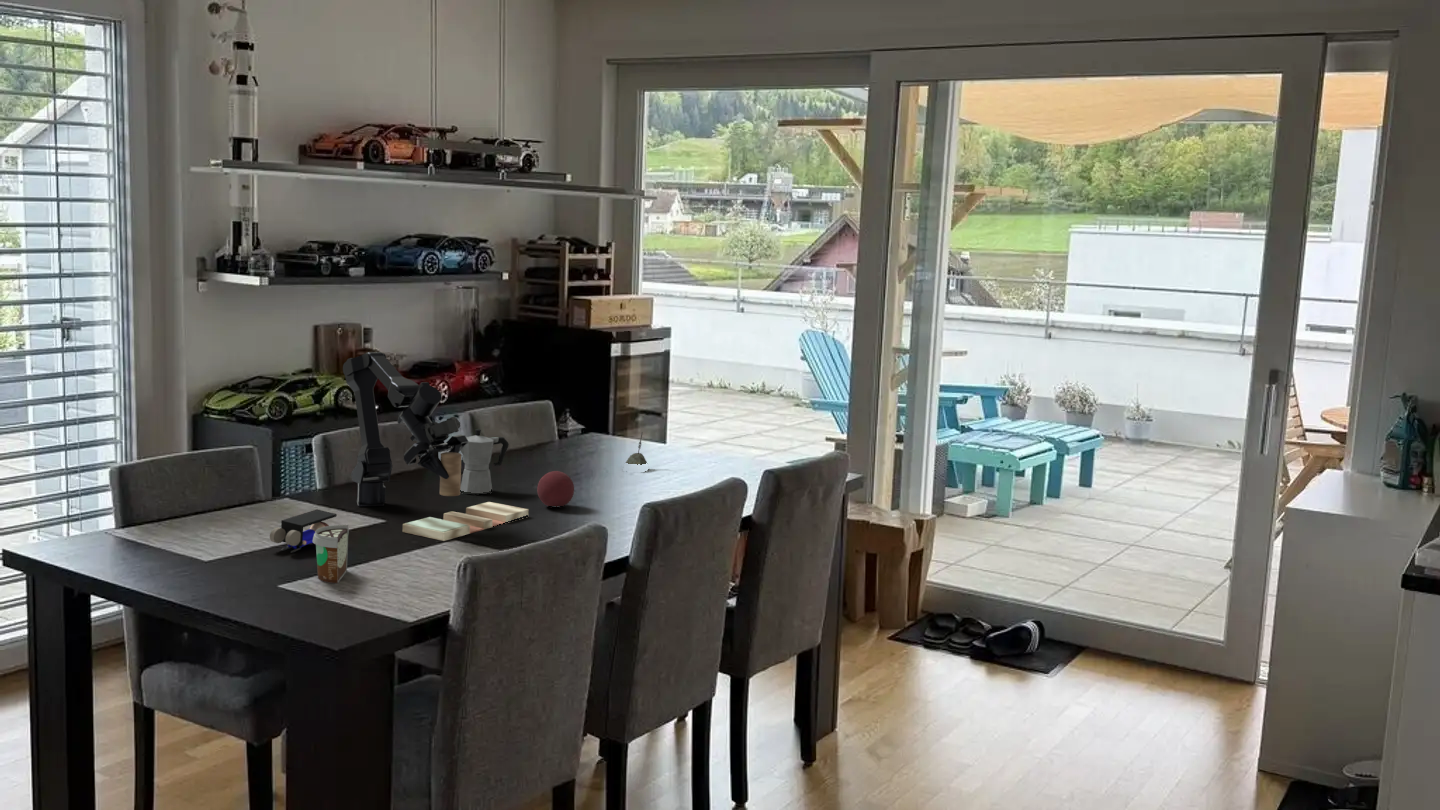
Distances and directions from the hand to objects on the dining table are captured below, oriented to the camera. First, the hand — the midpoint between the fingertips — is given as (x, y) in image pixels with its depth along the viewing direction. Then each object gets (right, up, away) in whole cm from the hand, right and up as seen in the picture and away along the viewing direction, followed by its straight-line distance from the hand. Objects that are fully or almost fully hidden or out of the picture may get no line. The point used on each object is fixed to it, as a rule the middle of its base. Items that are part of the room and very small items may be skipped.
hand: (454, 476), depth 314 cm
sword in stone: (+39, -3, +91) cm, 99 cm away
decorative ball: (+20, -10, +33) cm, 40 cm away
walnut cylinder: (-1, -4, +1) cm, 5 cm away
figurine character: (-30, -15, -21) cm, 40 cm away
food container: (-18, -19, -43) cm, 50 cm away
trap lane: (+1, -13, +9) cm, 15 cm away
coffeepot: (-3, -7, +47) cm, 48 cm away
